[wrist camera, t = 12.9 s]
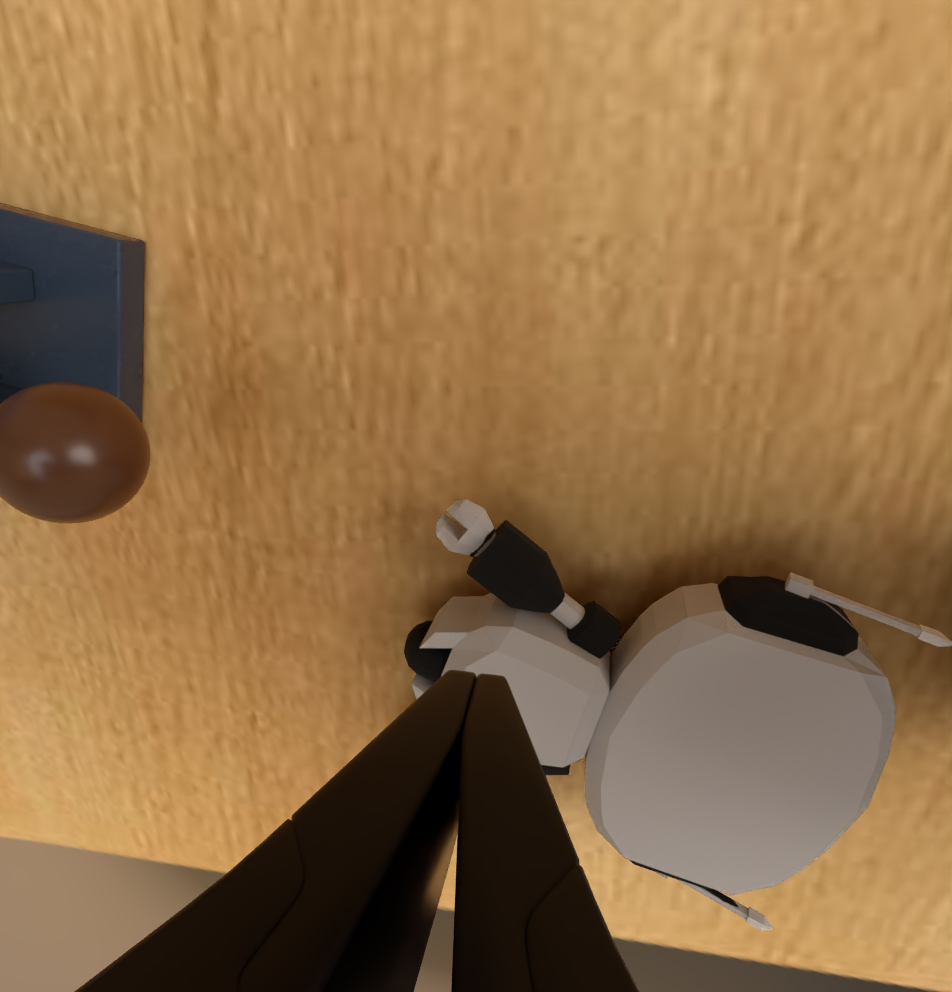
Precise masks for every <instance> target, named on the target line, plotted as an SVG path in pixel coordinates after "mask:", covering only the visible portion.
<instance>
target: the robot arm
mask: <svg viewBox="0 0 952 992" xmlns="http://www.w3.org/2000/svg"><path fill="white" fill-rule="evenodd" d="M291 819H292V820H290V819H288V820H286V821H285V822H284V823H283V824H282V825H281V826H280V827H278V828H277V829H276V830H275V831H274V832H273V833H272V834H271V835H270V836H269V837H268V838H267V839H266V840H264V841H263V842H262V843H261V844H260V845H259V846H258V847H256V848H255V849H254V850H253V851H252V852H251V853H250V854H249V855H247V856H246V857H245V858H244V859H243V860H242V861H241V862H239V863H238V864H237V865H236V866H235V867H234V868H233V869H231V870H230V871H229V872H228V873H227V874H226V875H224V876H223V877H222V878H221V879H219V880H218V881H217V882H216V883H214V884H213V885H212V886H211V887H209V888H208V889H207V890H206V891H204V892H203V893H202V894H201V895H199V896H198V897H197V898H196V899H194V900H193V901H192V902H191V903H189V904H188V905H187V906H186V907H184V908H183V909H182V910H180V911H179V912H178V913H176V914H175V915H174V916H173V917H171V918H170V919H169V920H167V921H166V922H165V923H164V924H162V925H161V926H160V927H158V928H157V929H156V930H154V931H153V932H152V933H150V934H149V935H148V936H147V937H145V938H144V939H143V940H141V941H140V942H139V943H137V944H136V945H135V946H133V947H132V948H131V949H130V950H128V951H127V952H126V953H124V954H123V955H122V956H121V957H119V958H118V959H117V960H115V961H114V962H113V963H112V964H110V965H109V966H107V967H106V968H105V969H103V970H102V971H101V972H100V973H99V974H97V975H96V976H94V977H93V978H92V979H90V980H89V981H88V982H87V983H85V984H84V985H83V986H81V987H80V988H79V989H77V990H76V991H75V992H414V988H415V984H416V981H417V977H418V974H419V970H420V967H421V963H422V960H423V956H424V952H425V949H426V945H427V942H428V938H429V935H430V931H431V928H432V924H433V920H434V917H435V913H436V910H437V906H438V903H439V899H440V896H441V892H442V888H443V885H444V881H445V878H446V874H447V871H448V867H449V864H450V860H451V856H452V853H453V849H454V845H455V841H456V837H457V832H458V840H457V865H456V890H455V916H454V941H453V967H452V992H639V990H638V988H637V986H636V984H635V982H634V980H633V978H632V976H631V974H630V972H629V970H628V968H627V966H626V964H625V962H624V960H623V958H622V957H621V955H620V953H619V951H618V949H617V947H616V945H615V943H614V941H613V939H612V936H611V934H610V932H609V930H608V927H607V925H606V923H605V921H604V918H603V916H602V914H601V911H600V909H599V907H598V905H597V902H596V900H595V898H594V895H593V893H592V890H591V888H590V885H589V883H588V880H587V878H586V875H585V873H584V870H583V868H582V867H581V866H580V865H579V859H578V856H577V854H576V851H575V849H574V846H573V844H572V841H571V839H570V836H569V834H568V831H567V829H566V826H565V824H564V821H563V819H562V816H561V814H560V811H559V809H558V806H557V804H556V801H555V799H554V796H553V794H552V791H551V789H550V786H549V784H548V781H547V779H546V776H545V774H544V771H543V769H542V766H541V764H540V761H539V759H538V756H537V754H536V751H535V749H534V746H533V744H532V741H531V739H530V736H529V734H528V731H527V729H526V726H525V724H524V721H523V719H522V716H521V714H520V711H519V709H518V706H517V704H516V701H515V699H514V696H513V694H512V691H511V689H510V686H509V684H508V681H507V679H506V678H505V677H504V676H501V675H493V674H484V673H481V674H479V675H478V676H477V677H476V674H475V673H474V672H468V671H460V670H449V671H447V672H446V673H445V674H444V675H442V676H441V677H440V678H439V679H438V680H437V681H436V682H435V683H434V684H433V685H432V686H431V687H430V688H428V689H427V690H426V691H425V692H424V693H423V694H422V695H421V696H420V697H419V698H418V699H417V700H416V701H414V702H413V703H412V704H411V705H410V706H409V707H408V708H407V709H406V710H405V711H404V712H403V713H402V714H400V715H399V716H398V717H397V718H396V719H395V720H394V721H393V722H392V723H391V724H390V725H389V726H388V727H386V728H385V729H384V730H383V731H382V732H381V733H380V734H379V735H378V736H377V737H376V738H375V739H374V740H372V741H371V742H370V743H369V744H368V745H367V746H366V747H365V748H364V749H363V750H362V751H361V752H360V753H358V754H357V755H356V756H355V757H354V758H353V759H352V760H351V761H350V762H349V763H348V764H347V765H346V766H344V767H343V768H342V769H341V770H340V771H339V772H338V773H337V774H336V775H335V776H334V777H333V778H332V779H330V780H329V781H328V782H327V783H326V784H325V785H324V786H323V787H322V788H321V789H320V790H319V791H318V792H316V793H315V794H314V795H313V796H312V797H311V798H310V799H309V800H308V801H307V802H306V803H305V804H304V805H302V806H301V807H300V808H299V809H298V810H297V811H296V812H295V813H294V814H293V815H292V818H291Z"/></svg>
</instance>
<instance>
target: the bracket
mask: <svg viewBox="0 0 952 992" xmlns="http://www.w3.org/2000/svg"><path fill="white" fill-rule="evenodd" d="M144 252H145V243H144V242H143V241H142V240H139V239H135V238H131V237H127V236H123V235H120V234H116V233H112V232H108V231H104V230H101V229H97V228H93V227H89V226H85V225H82V224H78V223H74V222H70V221H66V220H62V219H59V218H55V217H51V216H47V215H43V214H40V213H36V212H32V211H28V210H24V209H21V208H17V207H13V206H9V205H5V204H1V203H0V404H1V403H2V402H3V401H5V400H6V399H7V398H8V397H10V396H12V395H13V394H15V393H17V392H19V391H20V390H23V389H25V388H27V387H30V386H34V385H38V384H42V383H48V382H61V381H64V382H75V383H81V384H86V385H90V386H93V387H96V388H99V389H101V390H104V391H106V392H108V393H110V394H111V395H113V396H115V397H116V398H118V399H119V400H121V401H122V402H123V403H124V404H125V405H127V406H128V407H129V408H130V409H131V410H132V411H133V412H134V414H135V415H136V416H137V418H138V419H139V420H140V422H141V424H142V370H143V311H144Z"/></svg>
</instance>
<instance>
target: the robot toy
mask: <svg viewBox="0 0 952 992" xmlns="http://www.w3.org/2000/svg"><path fill="white" fill-rule="evenodd" d="M446 512H447V513H449V514H450V515H452V516H453V517H454V518H455V519H456V520H457V521H458V522H460V523H461V524H462V525H463V526H464V527H465V528H466V529H464V528H463V527H462V526H460V525H459V524H457V523H456V522H455V521H453V520H452V519H451V518H449V517H448V516H447V515H446V514H445V513H444V514H443V515H442V516H441V517H440V519H439V520H438V521H437V522H436V535H437V537H438V538H439V539H440V540H441V541H442V543H443V544H444V545H445V546H446V547H447V549H448V550H449V551H452V552H456V553H459V554H463V555H467V556H471V557H474V558H473V559H472V561H471V563H470V565H469V567H468V570H467V574H469V575H470V576H471V577H472V578H474V579H475V580H476V581H477V582H479V583H480V584H481V585H482V586H484V587H485V588H486V589H487V590H489V591H490V592H491V593H490V594H487V595H485V596H455V597H452V598H451V599H450V600H449V601H448V602H447V603H446V604H445V605H444V606H443V607H442V608H441V609H440V610H439V611H438V612H437V614H436V616H435V618H434V620H433V621H426V622H423V623H421V624H418V625H416V626H415V627H414V628H413V629H412V630H411V632H410V633H409V634H408V636H407V639H406V643H405V648H404V654H405V658H406V660H407V663H408V665H409V667H410V668H411V669H412V670H413V671H414V672H415V673H416V675H415V677H414V679H413V681H412V683H411V684H412V687H413V690H414V693H415V696H416V699H418V698H419V697H420V696H421V695H422V694H423V693H424V692H425V691H426V690H427V689H428V688H430V687H431V686H432V685H433V684H434V683H435V682H436V681H437V680H438V679H439V678H440V677H441V676H442V675H444V674H445V673H446V672H447V671H449V670H460V671H468V672H474V673H475V674H476V677H477V676H478V675H479V674H481V673H484V674H493V675H501V676H504V677H505V678H506V679H507V681H508V684H509V686H510V689H511V691H512V694H513V696H514V699H515V701H516V704H517V706H518V709H519V711H520V714H521V716H522V719H523V721H524V724H525V726H526V729H527V731H528V734H529V736H530V739H531V741H532V744H533V746H534V749H535V751H536V754H537V756H538V759H539V761H540V764H541V766H542V769H543V771H544V774H545V775H568V773H569V768H570V764H572V763H574V762H576V761H578V760H580V759H582V758H584V756H585V754H586V762H585V797H586V803H587V808H588V811H589V813H590V815H591V817H592V820H593V822H594V824H595V826H596V828H597V831H598V832H599V833H600V834H601V835H602V836H603V837H604V838H605V839H606V840H607V841H608V842H609V843H610V844H611V845H612V846H613V847H614V848H615V849H616V850H617V851H618V852H619V853H620V854H621V855H622V856H623V857H624V858H626V859H629V860H630V861H631V862H632V863H633V864H635V865H638V866H641V867H644V868H646V869H649V870H652V871H655V872H657V873H658V874H660V875H662V876H663V877H665V878H667V876H669V877H672V878H675V879H678V880H679V881H681V882H683V883H685V884H686V885H688V886H690V887H691V888H693V889H695V890H697V891H698V892H700V893H702V894H703V895H705V896H707V897H709V898H710V899H712V900H714V901H715V902H717V903H719V904H721V905H722V906H724V907H726V908H727V909H729V910H731V911H733V912H734V913H736V914H738V915H739V916H741V917H743V918H745V919H746V922H747V923H749V924H751V925H752V926H754V927H756V928H757V929H759V930H773V927H772V926H771V925H770V923H769V922H768V920H767V919H766V917H765V916H764V915H763V914H761V913H759V912H758V911H756V910H754V909H752V908H751V907H749V908H746V907H745V906H743V905H741V904H739V903H738V902H736V901H734V900H733V899H731V898H729V897H727V896H726V895H724V894H722V893H720V892H723V893H726V894H729V895H735V894H740V893H744V892H749V891H754V890H758V889H763V888H767V887H772V886H776V885H778V884H780V883H782V882H783V881H785V880H787V879H788V878H790V877H792V876H793V875H795V874H796V873H798V872H799V871H801V870H802V869H804V868H805V867H807V866H808V865H809V864H810V863H812V862H813V861H814V860H815V859H817V858H818V857H819V856H820V855H822V854H823V853H824V852H825V851H827V850H828V849H829V848H830V847H831V846H832V845H833V843H834V842H835V841H836V840H837V839H838V838H839V837H840V836H841V835H842V834H843V833H844V832H845V831H846V830H847V829H848V828H849V827H850V826H851V825H852V824H853V823H854V822H855V821H856V819H857V818H858V817H859V816H860V815H861V814H862V813H863V812H864V811H865V810H866V809H867V808H868V805H869V803H870V800H871V798H872V795H873V793H874V790H875V788H876V785H877V783H878V780H879V778H880V775H881V773H882V770H883V768H884V765H885V763H886V760H887V758H888V755H889V751H890V746H891V742H892V737H893V732H894V728H895V715H896V707H895V703H894V699H893V696H892V692H891V688H890V684H889V681H888V677H887V676H886V674H885V673H884V671H883V670H882V668H881V667H880V665H879V664H878V662H877V661H876V659H875V658H874V656H873V655H872V653H871V652H870V650H869V649H868V647H867V646H866V644H865V643H864V641H863V640H862V639H861V638H860V637H858V634H859V633H858V632H857V630H856V629H855V627H854V626H853V624H852V623H851V622H850V620H849V619H848V617H847V616H846V614H845V613H844V611H843V610H842V609H841V608H840V607H843V608H845V609H848V610H850V611H853V612H856V613H858V614H861V615H863V616H866V617H868V618H871V619H874V620H876V621H879V622H881V623H884V624H887V625H889V626H892V627H894V628H897V629H899V630H902V631H905V632H907V633H910V634H912V635H915V636H917V638H918V639H919V640H922V641H925V642H927V643H930V644H932V645H935V646H937V647H945V646H952V641H950V640H949V639H948V638H947V637H946V636H945V635H944V634H943V633H941V632H940V631H937V630H935V629H932V628H929V627H927V626H924V625H921V624H920V625H919V626H918V625H916V624H913V623H910V622H908V621H905V620H902V619H900V618H897V617H895V616H892V615H889V614H887V613H884V612H881V611H879V610H876V609H874V608H871V607H868V606H866V605H863V604H860V603H858V602H855V601H853V600H850V599H847V598H845V597H842V596H839V595H837V594H834V593H832V592H829V591H826V590H824V589H821V588H818V587H816V586H813V580H810V579H807V578H805V577H802V576H799V575H797V574H794V573H791V572H790V574H789V576H788V578H787V580H786V581H783V580H779V579H776V578H772V577H769V576H760V577H743V576H727V577H726V578H725V579H724V580H723V581H722V582H721V583H720V584H719V585H718V584H714V583H708V584H699V585H690V586H681V587H679V588H677V589H676V590H674V591H672V592H671V593H669V594H667V595H666V596H664V597H662V598H661V599H659V600H657V601H656V602H654V603H653V604H651V605H650V606H649V607H648V608H647V609H646V610H645V611H644V612H643V613H642V614H641V615H640V616H639V617H638V619H637V620H636V621H635V622H634V624H633V625H632V626H631V627H630V628H629V630H628V631H627V632H626V633H625V635H624V636H623V637H622V639H621V640H620V642H619V644H618V645H617V647H616V649H615V650H614V652H613V654H612V655H611V657H610V650H611V649H612V647H613V646H614V645H615V644H616V643H617V642H618V640H619V636H620V631H621V625H620V623H619V621H618V620H617V619H616V618H615V617H614V616H612V615H611V614H610V613H609V612H607V611H606V610H605V609H604V608H602V607H601V606H600V605H599V604H597V603H596V602H595V601H593V602H590V603H587V604H586V605H584V606H583V607H582V606H581V605H580V604H579V603H577V602H576V601H575V600H574V599H573V598H571V597H570V596H569V595H568V594H566V593H565V592H564V590H563V588H562V585H561V583H560V580H559V578H558V575H557V573H556V571H555V569H554V567H553V565H552V563H551V561H550V559H549V556H548V554H547V553H546V552H545V551H544V550H543V549H542V548H540V547H539V546H538V545H537V544H535V543H534V542H533V541H532V540H530V539H529V538H528V537H527V536H525V535H524V534H523V533H522V532H521V531H519V530H518V529H517V528H516V527H514V526H513V525H512V524H511V523H509V522H508V521H507V520H505V521H504V522H503V523H502V524H501V525H500V526H499V527H498V528H497V529H496V530H495V528H494V526H493V524H492V522H491V520H490V518H489V516H488V514H487V512H486V510H485V508H483V507H481V506H479V505H477V504H475V503H473V502H471V501H469V500H467V499H461V500H455V501H454V502H453V503H452V504H451V505H450V507H449V508H448V510H447V511H446ZM839 606H840V607H839ZM717 890H718V891H717ZM719 891H720V892H719Z"/></svg>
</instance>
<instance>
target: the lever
mask: <svg viewBox="0 0 952 992" xmlns="http://www.w3.org/2000/svg"><path fill="white" fill-rule="evenodd" d="M149 465H150V445H149V441H148V437H147V434H146V432H145V429H144V427H143V426H142V424H141V422H140V420H139V419H138V418H137V416H136V415H135V414H134V412H133V411H132V410H131V409H130V408H129V407H128V406H127V405H125V404H124V403H123V402H122V401H121V400H119V399H118V398H116V397H115V396H113V395H111V394H110V393H108V392H106V391H104V390H101V389H99V388H96V387H93V386H90V385H86V384H81V383H75V382H64V381H61V382H48V383H42V384H38V385H34V386H30V387H27V388H25V389H23V390H20V391H19V392H17V393H15V394H13V395H12V396H10V397H8V398H7V399H6V400H5V401H3V402H2V403H1V404H0V497H1V498H2V499H3V500H5V501H6V502H7V503H8V504H10V505H11V506H12V507H14V508H15V509H17V510H19V511H21V512H23V513H24V514H27V515H29V516H31V517H34V518H37V519H40V520H44V521H49V522H55V523H82V522H88V521H93V520H96V519H99V518H102V517H105V516H107V515H109V514H111V513H113V512H115V511H117V510H118V509H120V508H122V507H123V506H124V505H125V504H126V503H128V502H129V501H130V500H131V499H132V498H133V497H134V496H135V495H136V494H137V492H138V491H139V489H140V488H141V486H142V485H143V483H144V481H145V479H146V476H147V473H148V469H149Z"/></svg>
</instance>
